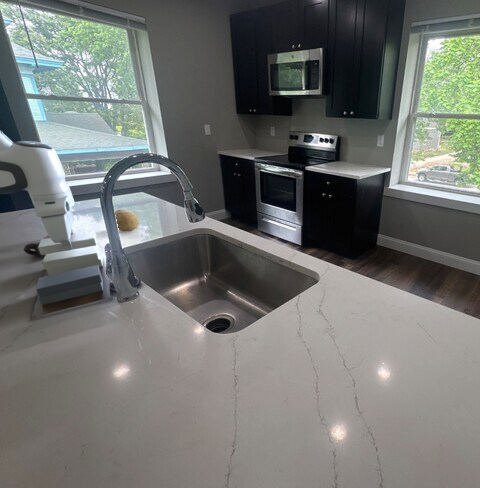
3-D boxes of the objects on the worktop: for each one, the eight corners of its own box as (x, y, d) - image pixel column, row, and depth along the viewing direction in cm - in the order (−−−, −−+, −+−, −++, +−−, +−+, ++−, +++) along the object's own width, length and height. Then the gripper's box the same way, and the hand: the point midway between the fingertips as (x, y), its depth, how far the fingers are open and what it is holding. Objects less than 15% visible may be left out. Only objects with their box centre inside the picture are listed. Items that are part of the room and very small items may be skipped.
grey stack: (41, 306, 76) (34, 289, 74) (45, 292, 82) (38, 276, 79) (104, 290, 83) (99, 275, 81) (104, 279, 88) (99, 264, 86)
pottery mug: (66, 247, 109) (69, 231, 106) (73, 266, 106) (77, 250, 102) (20, 250, 100) (22, 232, 96) (26, 271, 96) (28, 253, 92)
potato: (119, 238, 117) (113, 219, 114) (109, 228, 126) (104, 210, 122) (146, 232, 124) (142, 214, 120) (135, 222, 132) (131, 205, 129)
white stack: (47, 277, 88) (41, 263, 86) (50, 267, 93) (45, 253, 91) (102, 266, 95) (98, 252, 93) (102, 257, 100) (98, 244, 98)
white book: (41, 255, 85) (37, 247, 84) (44, 246, 90) (41, 239, 89) (96, 245, 92) (94, 238, 91) (96, 237, 97) (94, 230, 96)
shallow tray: (33, 322, 73) (30, 317, 72) (49, 266, 96) (47, 262, 96) (111, 302, 81) (109, 297, 80) (108, 255, 105) (107, 251, 104)
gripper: (44, 193, 91) (60, 234, 97) (33, 213, 76) (52, 260, 82) (70, 191, 94) (84, 231, 100) (65, 209, 79) (81, 255, 85)
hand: (70, 244), depth 91 cm, fingers closed on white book, 6 cm apart
